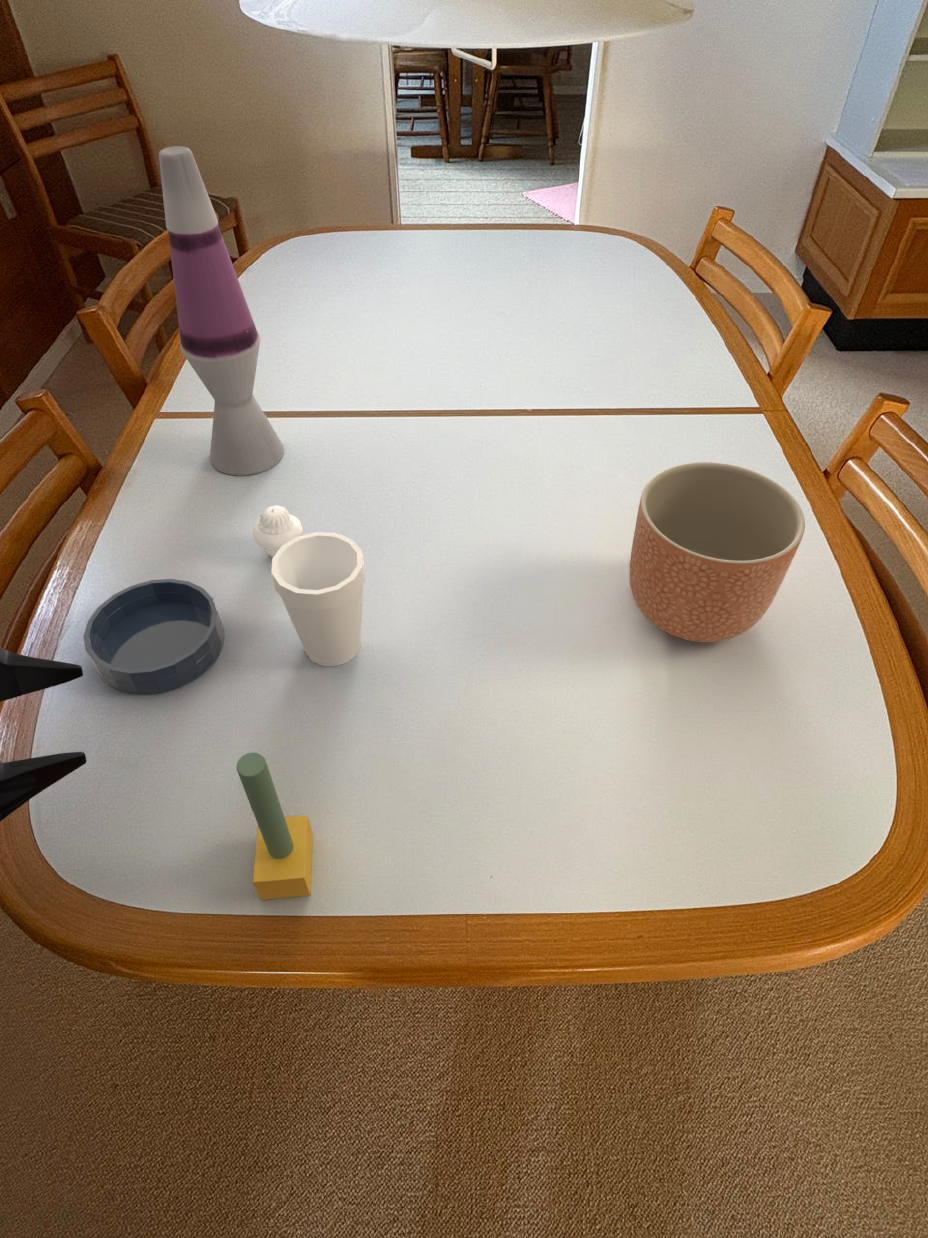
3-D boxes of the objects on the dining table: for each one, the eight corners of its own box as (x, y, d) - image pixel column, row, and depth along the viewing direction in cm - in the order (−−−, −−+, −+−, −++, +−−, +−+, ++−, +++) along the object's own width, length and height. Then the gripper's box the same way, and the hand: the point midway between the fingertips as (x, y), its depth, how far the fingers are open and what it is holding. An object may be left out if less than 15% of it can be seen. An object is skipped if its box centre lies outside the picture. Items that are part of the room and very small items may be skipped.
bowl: (104, 712, 84) (91, 690, 81) (89, 623, 92) (77, 600, 90) (236, 669, 88) (229, 647, 85) (210, 588, 96) (202, 565, 94)
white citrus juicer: (312, 538, 103) (304, 495, 98) (298, 570, 99) (289, 527, 93) (266, 533, 103) (256, 491, 98) (251, 565, 99) (239, 522, 94)
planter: (794, 618, 93) (839, 518, 82) (698, 686, 86) (733, 587, 75) (685, 542, 102) (712, 443, 91) (590, 598, 95) (607, 498, 84)
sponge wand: (260, 900, 70) (216, 801, 57) (265, 838, 74) (225, 733, 61) (310, 895, 70) (277, 796, 57) (313, 834, 74) (282, 729, 61)
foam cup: (352, 686, 86) (339, 603, 76) (277, 665, 88) (254, 582, 78) (385, 625, 92) (377, 542, 83) (314, 607, 94) (297, 524, 85)
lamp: (205, 441, 118) (121, 140, 89) (277, 427, 120) (217, 130, 91) (215, 482, 111) (126, 171, 82) (290, 467, 113) (230, 159, 84)
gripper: (-223, 791, 47) (67, 741, 52) (-168, 584, 59) (63, 562, 64) (-152, 882, 54) (94, 831, 60) (-116, 683, 66) (86, 655, 72)
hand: (83, 711), depth 64 cm, fingers open, 9 cm apart
